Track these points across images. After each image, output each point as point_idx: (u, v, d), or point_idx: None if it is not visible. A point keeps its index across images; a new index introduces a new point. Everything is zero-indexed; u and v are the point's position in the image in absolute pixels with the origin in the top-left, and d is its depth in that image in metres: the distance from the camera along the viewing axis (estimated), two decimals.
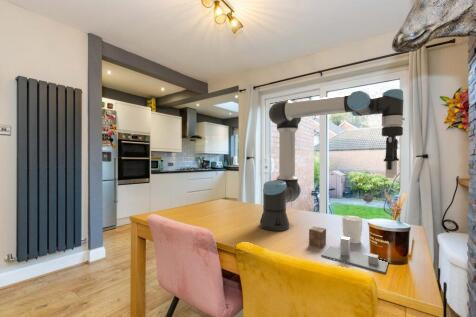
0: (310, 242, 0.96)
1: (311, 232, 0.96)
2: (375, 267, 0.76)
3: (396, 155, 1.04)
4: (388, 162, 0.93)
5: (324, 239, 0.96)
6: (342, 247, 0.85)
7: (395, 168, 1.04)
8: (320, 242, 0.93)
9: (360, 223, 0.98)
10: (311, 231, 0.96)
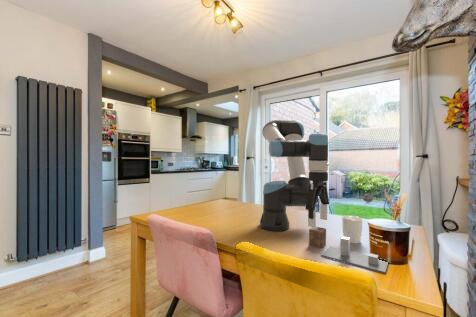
0: (310, 242, 0.96)
1: (311, 232, 0.96)
2: (375, 267, 0.76)
3: (326, 199, 1.00)
4: (309, 211, 0.90)
5: (324, 239, 0.96)
6: (342, 247, 0.85)
7: (325, 212, 1.01)
8: (320, 242, 0.93)
9: (360, 223, 0.98)
10: (311, 231, 0.96)
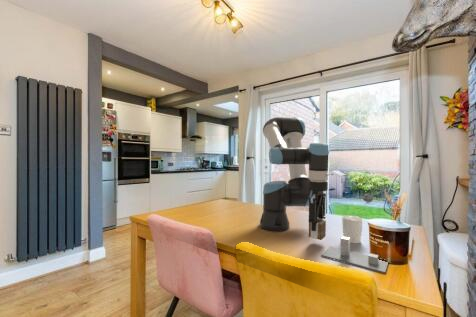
0: (310, 234, 0.97)
1: None
2: (375, 267, 0.76)
3: (323, 212, 0.99)
4: (312, 223, 0.94)
5: (324, 231, 0.96)
6: (342, 247, 0.85)
7: None
8: (320, 234, 0.94)
9: (360, 223, 0.98)
10: None
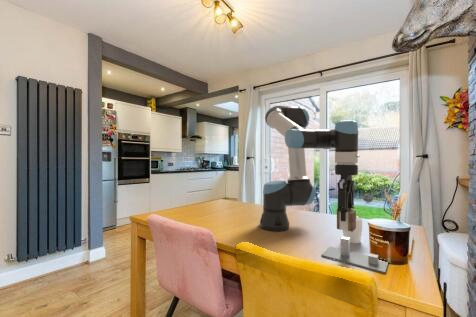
0: (338, 225, 0.84)
1: (339, 214, 0.84)
2: (375, 267, 0.76)
3: (352, 201, 0.87)
4: (341, 213, 0.81)
5: (354, 222, 0.84)
6: (342, 247, 0.85)
7: None
8: (350, 225, 0.81)
9: (360, 223, 0.98)
10: (339, 213, 0.84)
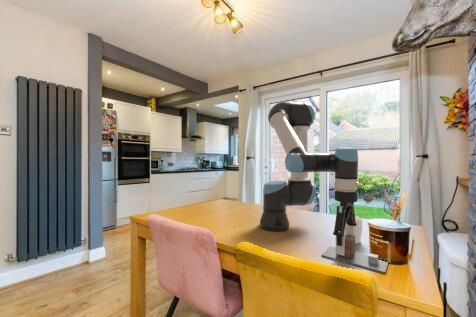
0: None
1: None
2: (375, 267, 0.76)
3: (353, 220, 0.89)
4: (338, 237, 0.79)
5: (353, 248, 0.84)
6: None
7: None
8: (350, 252, 0.82)
9: (360, 223, 0.98)
10: None
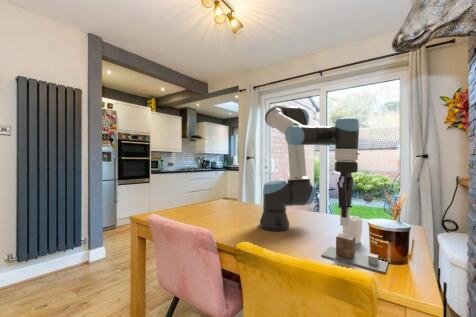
0: (337, 251, 0.85)
1: (338, 240, 0.84)
2: (375, 267, 0.76)
3: (349, 199, 0.86)
4: (342, 209, 0.84)
5: (353, 248, 0.84)
6: None
7: None
8: (350, 252, 0.82)
9: (360, 223, 0.98)
10: (339, 239, 0.84)
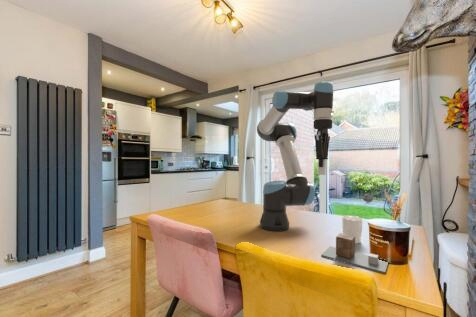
0: (337, 251, 0.85)
1: (338, 240, 0.84)
2: (375, 267, 0.76)
3: (326, 153, 1.01)
4: (319, 160, 0.99)
5: (353, 248, 0.84)
6: None
7: None
8: (350, 252, 0.82)
9: (360, 223, 0.98)
10: (339, 239, 0.84)
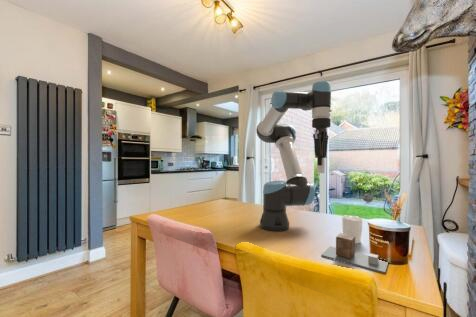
0: (337, 251, 0.85)
1: (338, 240, 0.84)
2: (375, 267, 0.76)
3: (324, 151, 1.02)
4: (318, 158, 1.00)
5: (353, 248, 0.84)
6: None
7: None
8: (350, 252, 0.82)
9: (360, 223, 0.98)
10: (339, 239, 0.84)
